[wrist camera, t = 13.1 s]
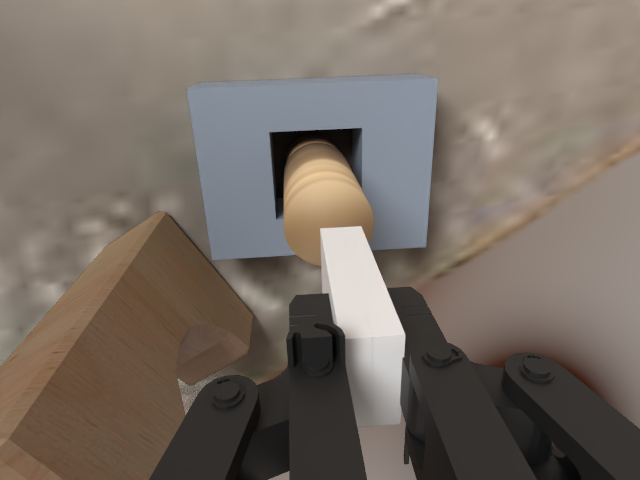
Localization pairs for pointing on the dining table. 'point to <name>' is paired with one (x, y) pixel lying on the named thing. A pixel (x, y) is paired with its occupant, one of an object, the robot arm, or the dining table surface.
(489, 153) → the dining table surface
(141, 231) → the decorative block
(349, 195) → the peg
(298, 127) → the board
